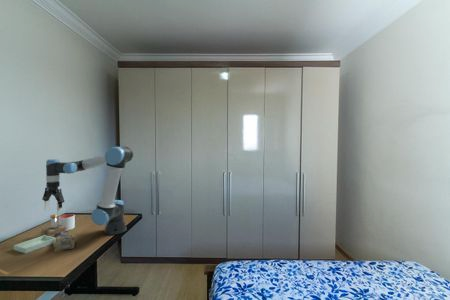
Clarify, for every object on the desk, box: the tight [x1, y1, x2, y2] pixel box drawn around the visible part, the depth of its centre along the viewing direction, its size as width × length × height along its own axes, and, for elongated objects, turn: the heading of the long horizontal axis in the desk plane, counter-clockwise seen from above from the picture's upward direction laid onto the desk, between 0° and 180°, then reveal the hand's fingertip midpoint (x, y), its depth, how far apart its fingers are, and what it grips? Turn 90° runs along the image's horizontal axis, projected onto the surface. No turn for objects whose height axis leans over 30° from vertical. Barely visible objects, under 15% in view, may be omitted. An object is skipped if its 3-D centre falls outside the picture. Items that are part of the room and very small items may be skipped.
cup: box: [58, 213, 76, 232], centre depth 178 cm, size 10×10×10 cm
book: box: [53, 234, 77, 253], centre depth 151 cm, size 15×11×5 cm
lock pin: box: [49, 214, 58, 229], centre depth 167 cm, size 4×4×14 cm
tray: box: [13, 235, 56, 255], centre depth 149 cm, size 12×17×3 cm
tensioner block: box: [41, 224, 69, 238], centre depth 166 cm, size 16×10×5 cm, turn 67°
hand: (53, 211), depth 167 cm, fingers open, 13 cm apart
